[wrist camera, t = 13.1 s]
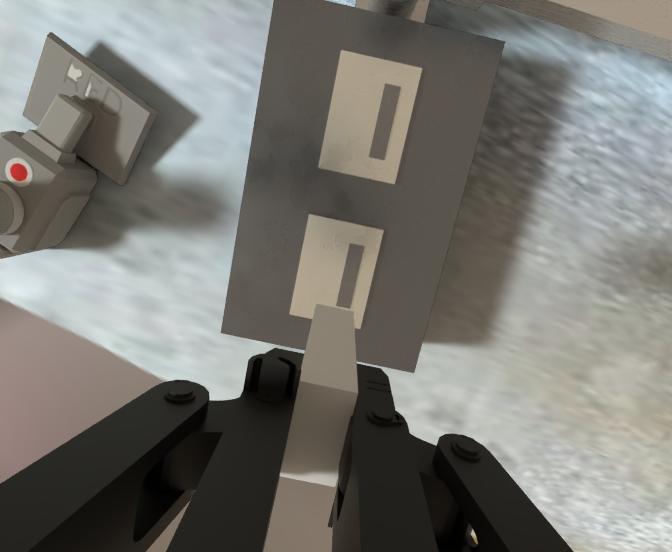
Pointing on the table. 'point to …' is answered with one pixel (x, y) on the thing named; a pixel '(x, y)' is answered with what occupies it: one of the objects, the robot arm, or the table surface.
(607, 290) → the table surface
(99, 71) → the camera
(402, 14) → the post
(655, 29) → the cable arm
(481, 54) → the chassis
